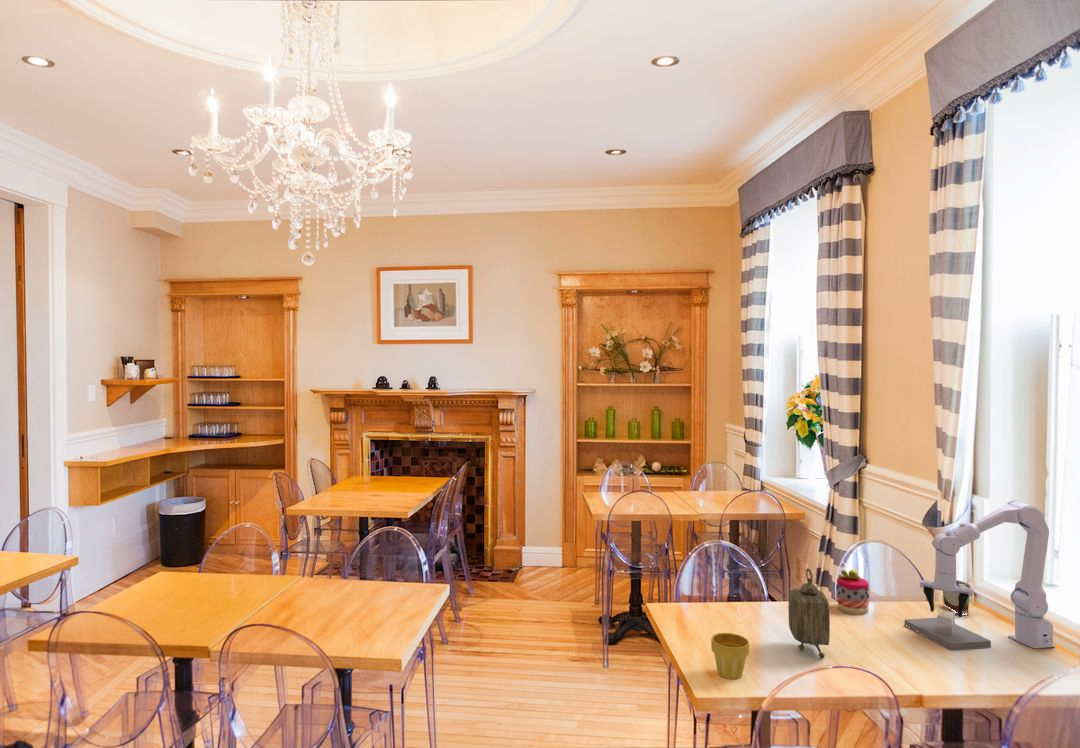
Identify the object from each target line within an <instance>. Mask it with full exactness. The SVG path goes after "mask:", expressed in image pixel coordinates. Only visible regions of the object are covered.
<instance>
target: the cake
mask: <svg viewBox="0 0 1080 748" xmlns="http://www.w3.org/2000/svg"><path fill="white" fill-rule="evenodd" d="M837 576H838V577H837V578H836V579H837V580H836V582H837V585H836V590H837V594H836V597H837V599H836V602H837V610H838V611H840V612H842V613H844V614H848V615H853V616H864V615H863V614H866V613H867V612H868V613H869V604H870V600H869V597H870V594H869V581H867V580H866V579H864V578H862V577H860V575H859V572H858V571H857V570H855V569H850V570H849V571H848V572H847V570H845V569H842V570H841V574H838V575H837ZM868 613H867V614H868ZM867 614H866V615H867Z"/></svg>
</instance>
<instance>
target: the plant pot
mask: <svg viewBox="0 0 1080 748" xmlns="http://www.w3.org/2000/svg"><path fill="white" fill-rule="evenodd" d="M710 640H711V643H710V644H711V651H712V652H713V655H714V659H715V660H714V661H715V665H716V671H717V674H718V675H719V676H720V677H721V678H724V679H728V680H739V679H741V678H742V677H743V673H744V668H745V664H746V659H747V657H749V655H750V641H749V639H748V638H746V637H745V636H742V635H740V634H736V633H733V632H719V633H718V632H717V633H715V634H713V635H712V637H711V639H710Z"/></svg>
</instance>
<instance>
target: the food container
mask: <svg viewBox="0 0 1080 748" xmlns="http://www.w3.org/2000/svg"><path fill="white" fill-rule="evenodd" d="M956 585H957V586H961V587H965V588H969V589H972V587H971V585H970V583H967V582H965V581H962V580H958V579H956ZM942 592H943V593H942V597H943V605H944V604H945V605H946V606H948V607H950V608H951V609H953V610H955V611H956V612H959V600H958V596H959V594H958V593H952V592H947V591H942ZM970 597H971V596H969V597H968V599H967V601H966V603H965V605H964V607H963V611H962V614H963V613H964V614H965V613H968V614H969V606H970Z"/></svg>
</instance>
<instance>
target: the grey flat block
mask: <svg viewBox="0 0 1080 748" xmlns="http://www.w3.org/2000/svg"><path fill="white" fill-rule="evenodd" d="M905 625H907V626H908V627H910V628H912V629H914V630H916V631H918V632H919V633H918V632H917V633H918V634H920V633H921V634H920V635H922V634H923V635H924V637H925V636H927V637H928V638H927V637H926V638H927V639H929V638H930V640H931V639H932V640H931V641H933V640H934V642H935V641H936V642H935V643H937V642H938V643H937V644H939V645H941V646H943V647H944V646H945V647H944V648H947V649H949V650H950V651H957V650H958V651H959V650H972V649H982V648H983V649H984V648H985V649H986V648H992V641H991V640H990V639H988V638H985V636H982V635H980V634H977V633H976V632H973V631H971V630H968V629H967V628H964V627H963V626H960V625H958V624H956V623H955V629H954V631H953V633H952V634H947V633H943V632H938V631H937V617H927V618H926V617H925V618H924V617H923V618H912V619H911V618H909V619H904V626H905ZM908 627H907V628H908ZM910 628H909V629H910ZM912 629H911V630H912ZM914 630H913V631H914ZM916 631H915V632H916ZM923 635H922V636H923Z"/></svg>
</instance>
